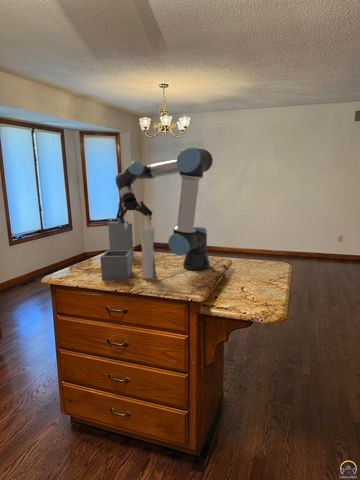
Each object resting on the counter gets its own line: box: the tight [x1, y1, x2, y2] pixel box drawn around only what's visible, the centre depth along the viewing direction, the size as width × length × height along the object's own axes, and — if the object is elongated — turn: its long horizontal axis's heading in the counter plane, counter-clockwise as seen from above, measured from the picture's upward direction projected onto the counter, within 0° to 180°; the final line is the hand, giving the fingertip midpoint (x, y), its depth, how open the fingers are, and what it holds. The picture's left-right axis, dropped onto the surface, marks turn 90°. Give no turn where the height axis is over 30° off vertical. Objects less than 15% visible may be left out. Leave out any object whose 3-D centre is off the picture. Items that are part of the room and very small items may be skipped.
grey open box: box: [99, 250, 134, 281], centre depth 168 cm, size 13×13×12 cm
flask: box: [107, 218, 134, 259], centre depth 207 cm, size 17×5×25 cm, turn 65°
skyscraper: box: [138, 224, 158, 281], centre depth 162 cm, size 8×8×28 cm
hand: (138, 226), depth 170 cm, fingers open, 13 cm apart
